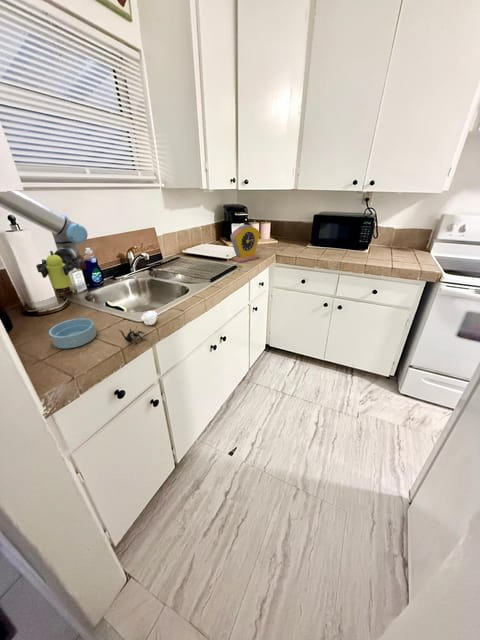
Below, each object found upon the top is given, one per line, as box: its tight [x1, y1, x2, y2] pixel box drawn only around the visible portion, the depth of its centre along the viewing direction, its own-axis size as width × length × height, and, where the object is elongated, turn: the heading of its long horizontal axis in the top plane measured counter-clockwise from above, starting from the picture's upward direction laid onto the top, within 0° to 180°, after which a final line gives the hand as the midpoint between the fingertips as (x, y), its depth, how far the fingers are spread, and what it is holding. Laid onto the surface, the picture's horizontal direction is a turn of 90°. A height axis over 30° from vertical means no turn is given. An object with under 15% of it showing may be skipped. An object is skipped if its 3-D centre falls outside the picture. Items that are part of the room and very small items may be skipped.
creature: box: [118, 326, 146, 344], centre depth 83 cm, size 8×5×8 cm
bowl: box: [48, 317, 97, 349], centre depth 84 cm, size 12×12×4 cm
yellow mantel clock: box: [229, 224, 261, 264], centre depth 167 cm, size 22×9×22 cm, turn 131°
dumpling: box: [140, 310, 158, 326], centre depth 94 cm, size 7×5×4 cm
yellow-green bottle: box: [45, 250, 73, 290], centre depth 96 cm, size 6×6×13 cm
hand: (54, 272), depth 91 cm, fingers closed on yellow-green bottle, 6 cm apart
